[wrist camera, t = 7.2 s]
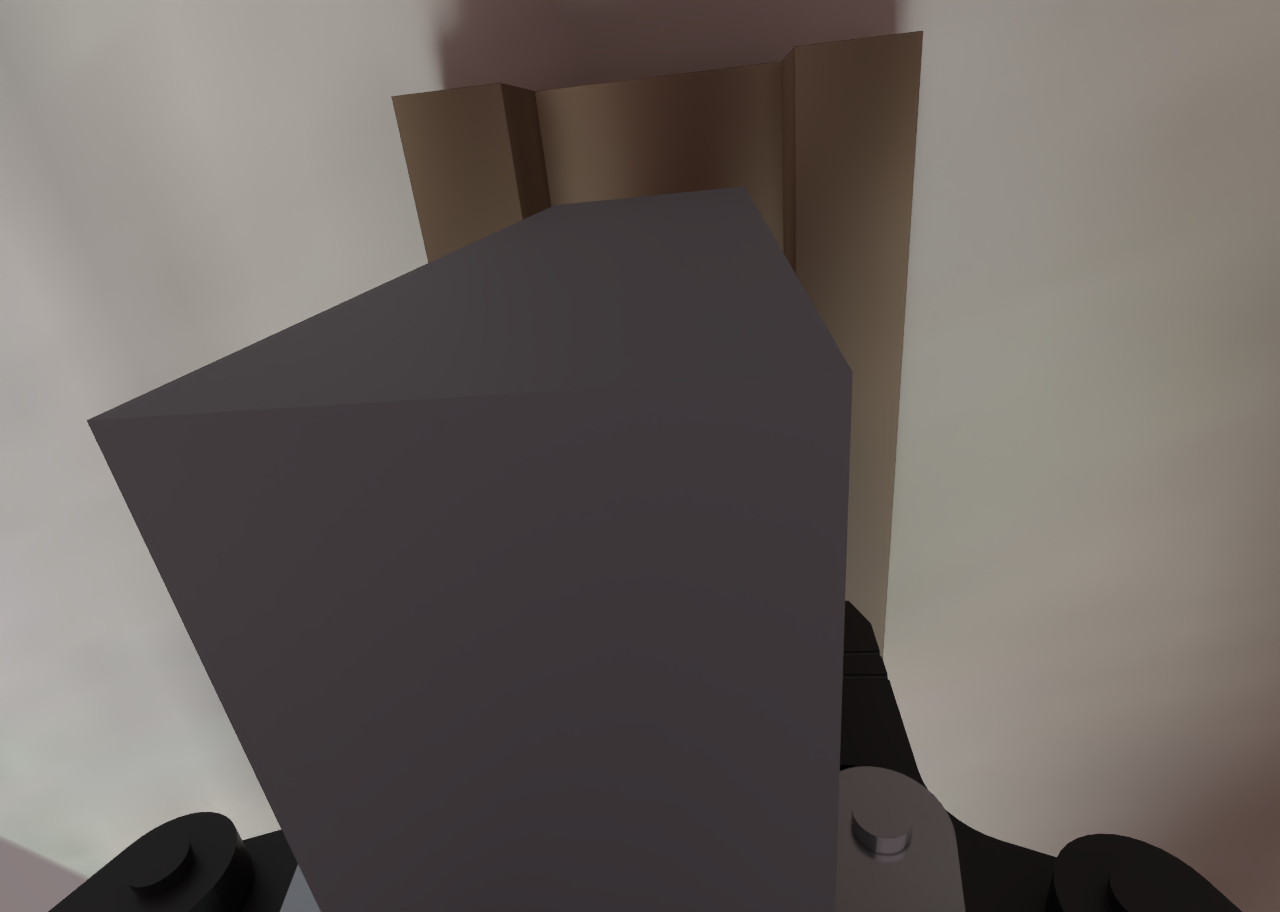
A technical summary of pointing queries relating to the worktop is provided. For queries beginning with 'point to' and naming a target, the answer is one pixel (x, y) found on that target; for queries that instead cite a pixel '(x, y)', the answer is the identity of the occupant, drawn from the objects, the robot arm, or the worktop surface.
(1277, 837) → the worktop surface
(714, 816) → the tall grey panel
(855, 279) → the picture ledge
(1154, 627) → the worktop surface
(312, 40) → the worktop surface
